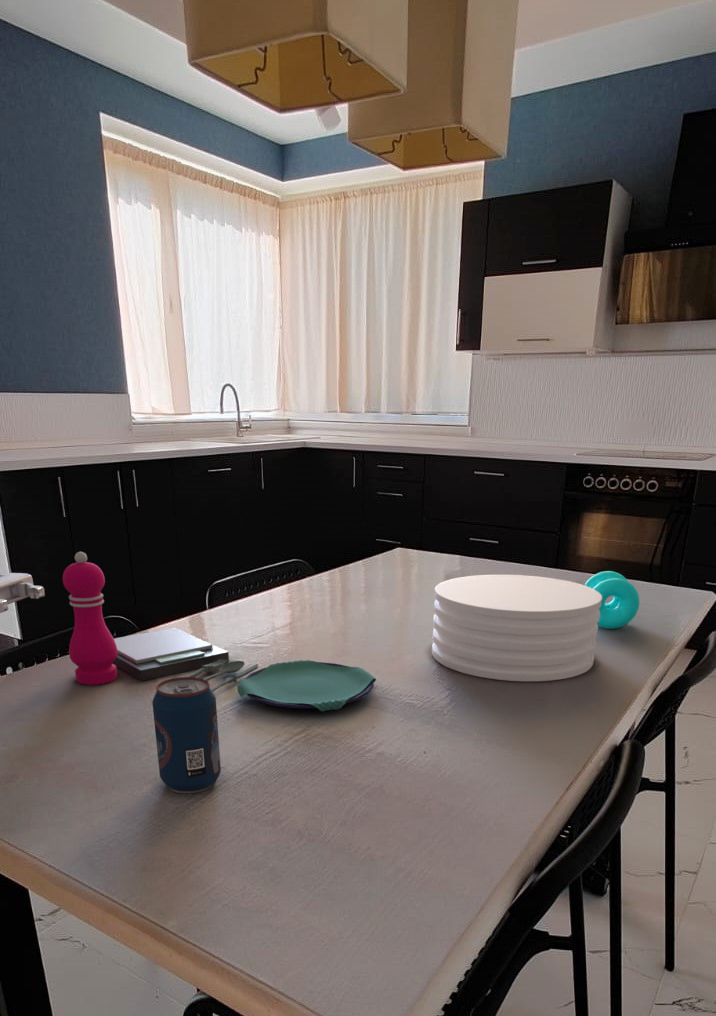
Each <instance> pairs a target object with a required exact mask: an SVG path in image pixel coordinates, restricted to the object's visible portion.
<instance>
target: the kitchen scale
mask: <svg viewBox="0 0 716 1016" xmlns="http://www.w3.org/2000/svg"><path fill="white" fill-rule="evenodd" d="M114 641H115V643H116V646H117V651H118V654H117V657H116V659H115V660H114V661H113V663H112V664H114V665H115V666H116V668H118V669H120V670H122V671H124V672H125V673H127V674H129V675H130V676H132V677H134V678H136V679H138V681H141V682H145V681H148V680H153V679H158V678H161V677H162V678H163V677H167V676H172V675H175V674H181V673H185V672H189V671H193V670H199V669H200V668H202V665H207V664H210V663H213V662H216V661H218V660H220V659H221V661H222V660H225V661H226V660H228V661H227V662H226V663H229V662H230V655H229V654H230V653H229V651H228V650H225V649H222V648H220V647H218V646H217V645H214V644H212V643H209V642H207V641H205V640H202V639H200V638H198V637H196V636H194V635H191V634H190V633H188V632H185V631H183V630H180V629H179V628H175V627H170V628H165V629H160V630H155V631H148V632H143V633H137V634H133V635H132V634H131V635H126V636H120V637H115V638H114Z"/></svg>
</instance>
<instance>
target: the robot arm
mask: <svg viewBox="0 0 716 1016" xmlns="http://www.w3.org/2000/svg"><path fill="white" fill-rule="evenodd" d="M45 593H46V592H45V588H44V586H42V585H34V580H33V577H32V575H31V574H29V573H25V572H24V573H23V572H0V614H2V613H5V612H7V611H9V606H8V605H10V604H13V603H15V602H19V601H21V600H24V599H27V598H30V599H36V600H39V599H42V598H44V597H45V596H46V594H45Z"/></svg>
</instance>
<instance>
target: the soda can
mask: <svg viewBox="0 0 716 1016" xmlns="http://www.w3.org/2000/svg"><path fill="white" fill-rule="evenodd" d="M211 689H212V688H211V687H210V682H209V681H206V680H204V679H203V678H201V677H185V676H179V677H173V678H169V679H165V680H162V681H161V682H159V683H157V685H156V691H155V694H154V696H153V699H152V712H153V722H154V723H153V724H154V731H155V732H154V733H155V743H156V751H157V762H158V771H159V772H158V773H159V777H160V779H161V781H162V782H163V784H164V785H165V786H166V787H167V788H168V790H170V791H172V792H174V793H179V794H195V793H201V792H205V791H207V790H209V789H211V788H212V787H213V786H214V785H215V784H216V782H217V780H218V778H219V777H220V774H221V771H222V767H221V751H220V739H219V724H218V709H217V698H216V695H215V694H214V691H213V692H212V691H211Z"/></svg>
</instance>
